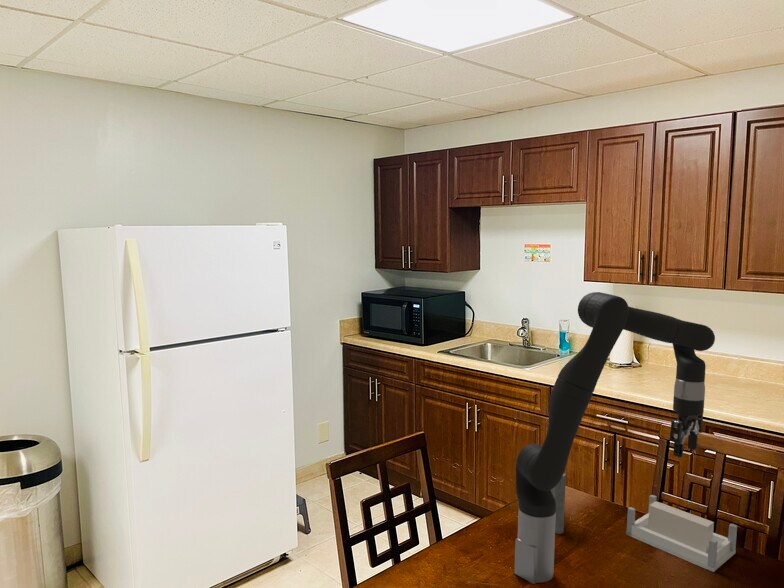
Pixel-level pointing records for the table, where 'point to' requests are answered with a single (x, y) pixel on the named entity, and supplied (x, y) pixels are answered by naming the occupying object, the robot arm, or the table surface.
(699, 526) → the panel
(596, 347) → the robot arm
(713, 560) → the rack
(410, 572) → the table surface
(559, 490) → the hip flask
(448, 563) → the table surface
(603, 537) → the table surface
